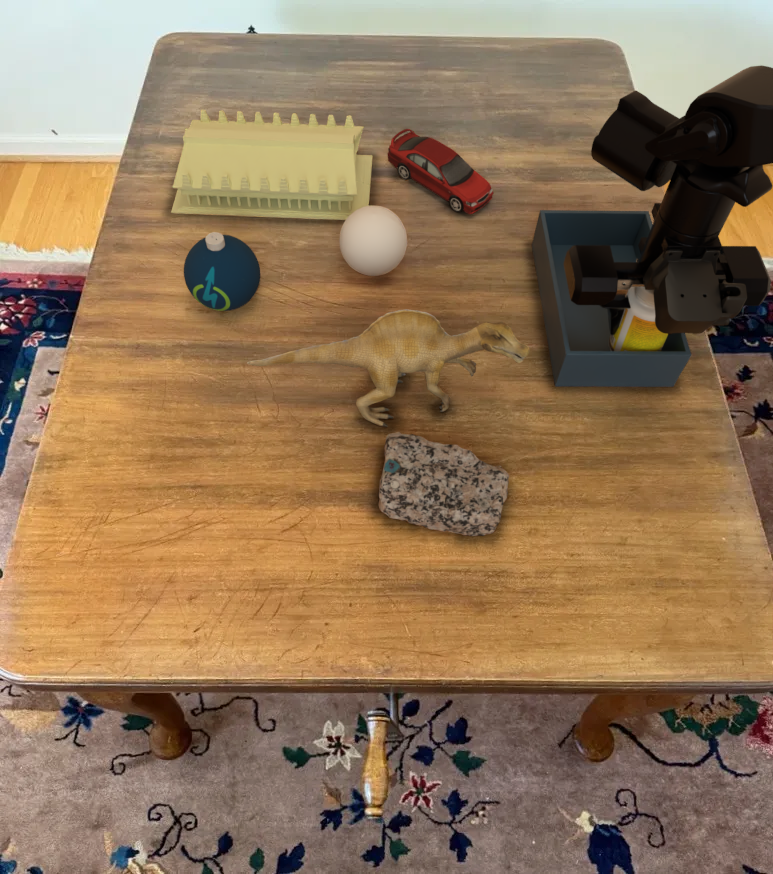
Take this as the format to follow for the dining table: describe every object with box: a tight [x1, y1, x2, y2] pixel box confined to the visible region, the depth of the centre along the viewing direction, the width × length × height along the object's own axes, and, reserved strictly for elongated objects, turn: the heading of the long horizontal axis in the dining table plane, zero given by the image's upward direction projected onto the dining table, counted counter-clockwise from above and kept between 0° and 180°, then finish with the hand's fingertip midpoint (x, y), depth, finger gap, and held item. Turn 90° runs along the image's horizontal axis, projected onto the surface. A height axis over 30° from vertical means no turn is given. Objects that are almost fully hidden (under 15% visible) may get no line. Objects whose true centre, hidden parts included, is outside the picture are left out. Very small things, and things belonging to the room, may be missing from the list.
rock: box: [378, 431, 510, 537], centre depth 71 cm, size 13×9×4 cm
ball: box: [338, 205, 408, 277], centre depth 87 cm, size 8×8×8 cm
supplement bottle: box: [609, 287, 668, 351], centre depth 77 cm, size 6×6×10 cm
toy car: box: [387, 128, 495, 215], centre depth 96 cm, size 6×15×5 cm, turn 44°
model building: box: [170, 109, 373, 221], centre depth 95 cm, size 25×14×7 cm, turn 88°
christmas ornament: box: [183, 231, 261, 312], centre depth 83 cm, size 8×8×10 cm
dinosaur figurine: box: [246, 308, 530, 428], centre depth 74 cm, size 8×26×13 cm, turn 97°
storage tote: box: [531, 209, 692, 388], centre depth 85 cm, size 22×13×6 cm, turn 1°
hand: (639, 331), depth 79 cm, fingers closed on supplement bottle, 5 cm apart
